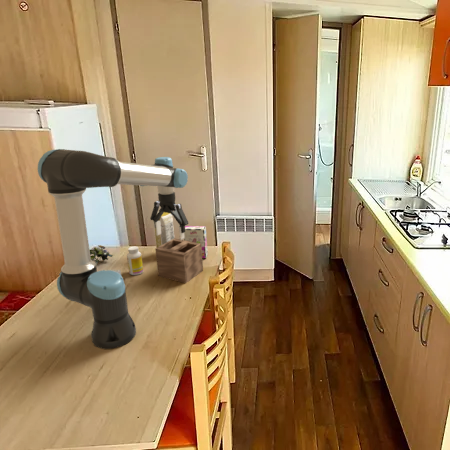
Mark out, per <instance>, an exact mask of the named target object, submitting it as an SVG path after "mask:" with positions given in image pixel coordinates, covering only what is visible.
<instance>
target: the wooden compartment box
mask: <svg viewBox="0 0 450 450" xmlns="http://www.w3.org/2000/svg"><path fill="white" fill-rule="evenodd" d="M154 250H155V256H156V257H155V258H156V267H157V274H158V275H157V276H158V277H161V278H165V279H169V280H172V281H176V282H179V283H182V284H183V283H184V284H187V283H189V282H190V281H191V280H192V279H194V278H195V277H197V275H199V274H200V273H202V272H203V271H204V265H203V264H204V261H203V259H202V246H201V244H200V243H195V242H190V241H185V240H184V239H182V240H180V238H175V237H174V239H172V240H170V241H168V242H167V243H165V244H163V245H161V246H159V247H157V248H155V249H154Z"/></svg>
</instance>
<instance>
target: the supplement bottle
mask: <svg viewBox="0 0 450 450" xmlns="http://www.w3.org/2000/svg"><path fill="white" fill-rule="evenodd" d="M127 251H128V253H126V258H127V266H128V273H129V275H132V276H139V275H141V274H142V273H144V265H143V258H142V257H143V256H142V253H141V251H139V247H138V246H129V247H128V248H127Z"/></svg>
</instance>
